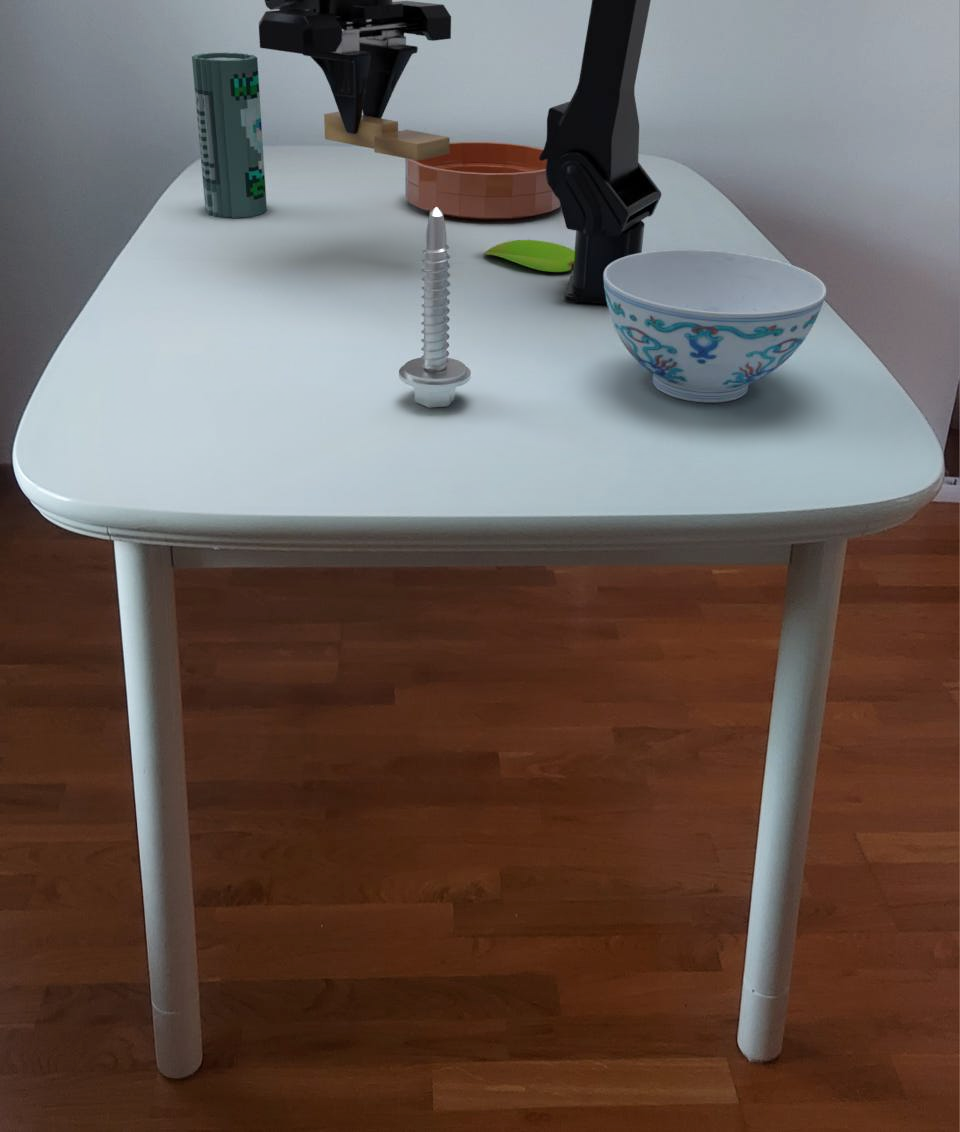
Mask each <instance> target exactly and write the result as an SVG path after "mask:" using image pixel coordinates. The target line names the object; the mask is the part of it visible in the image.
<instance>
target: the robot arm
mask: <svg viewBox="0 0 960 1132" xmlns="http://www.w3.org/2000/svg"><path fill="white" fill-rule="evenodd" d="M651 2H652V0H591V5H590V6H591V7H590V11H589V16H588V23H587V29H586V35H585V41H584V47H583V54H582V60H581V66H580V70H579V71H580V72H579V78H578V83H577V86H576V89H575V91H574V93H573V95H572V97H571V99H570V101H566V102H563V103H561V104H557V105H555V106H552V107H549V108H548V111H547V117H546V140H545V144H544V148H543V149H544V150H543V152H542V153H541V155H540V157H539V159H540V160H541V161H543V160H545V159H547V162H546V180H547V184H548V186H550V187H551V189H552V191H553V192H554V194H555V196H556V197H557V198H558V199H559V201H560V205H561V207H560V208H561V212H562V216H563V220H564V223H565V228H566V229H567V230H570V231H575V241H574V251H575V254H574V265H573V267H572V268H573V270H572V275H570V276H569V280H568V283H567V286H566V289H565V292H564V301H567V302H574V303H588V304H602V305H607V301H606V296H605V289H604V279H603V275H604V270H605V268H606V267H607V266H608V265H609V264H610V263H612V262H614V261H615V260H618V259H620V258H623V257H626V256H629V255H633V254H638V253H643V244H644V233H645V222H644V221H643V220H644V219H647V218H650V217H652V216H653V215H654V213H655V211H656V208H657V206H658V204H659V203H660V200H661V198H662V191H661V190H660V189H659V187H658V186H657V184H656V183H655V182H654V180H653V179H652V178H651V177H650V176H649V174H648V173H647V171H646V170H645V169H644V167H643V166H642V165H641V164H640V162H639V151H640V149H639V148H640V122H639V115H638V108H637V102H636V96H635V89H636V88H635V86H636V81H637V76H638V69H639V64H640V59H641V54H642V49H643V43H644V38H645V32H646V28H647V22H648V16H649V12H650V6H651ZM264 4H265V6H266V8H267V9H268V10H267V11H264V13H263V15H262V17H261V19H260V20H259V22H258V36H259V39H258V40H259V48H260V49H266V50H271V51H272V50H273V51H279V52H286V53H291V54H292V53H293V54H299V55H303V56H305V57H310V58H311V59H312V60H313V61H314V62H315V63H316V64H317V66H318V67H320V69H321V70H322V72H323V74H324V76H325V78H326V80H327V82H328V85H329V88H330V91H331V93H332V95H333V99H334V102H335V104H336V107H337V110H338V112H339V113H340V116H341V119H342V121H343V124H344V127H345V130H346V132H347V133H351V134H356V133H357V132H358V128H359V124H360V121H361V117H362V115H364V116H370V117H375V118H381V119H383V116H384V113H385V111H386V108H387V106H388V104H389V101H390V99H391V98H392V95H393V92H395V91H394V90H395V88H396V86H397V84H398V82H399V80H400V78H401V77H402V75H403V73H404V71H405V69H406V67H407V65H408V63H409V61H410V59H411V57H412V55H414V54H417V53H418V50H419V48H418V46H416V45H409V44H407V36H405V34H409V35H415V36H420V37H421V36H423V37H425V38H426V40H427V41H431V42H435V41H443V40H451V39H452V16H451V14H450V13H449V10H448V9H447V8H446V6H445V5H444V4H441V3H431V2H422V1H413V0H402V1H401V0H398V1H393V0H264Z"/></svg>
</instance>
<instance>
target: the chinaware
mask: <svg viewBox="0 0 960 1132" xmlns="http://www.w3.org/2000/svg"><path fill="white" fill-rule="evenodd" d="M603 279H604V289H605V296H606V301H607V304H606V305H607V309H608V310H607V311H608V313H609V317H610V320H611V322H612V325H613V327H614V330H615V332H616V334H617V336H618V338H619V340H620V341H621V343H622V344H623V345H624V348H625V349H626V350H627V351H628V353H629V354H630V355H631V356H632V357H633V358H634V359H635V361H636V362H638V363H639V364H640V365H641V366H642V367H643V368H644V369H645V370H647V371H648V372H649V373H650V374H652V383H653V385H654V387H655V388H656V389H658V390H659V391H660V392H662V393H664V394H665V395H667V396H669V397H673V398H676V399H680V400H684V401H688V402H694V403H695V402H696V403H706V404H707V403H709V404H710V403H711V404H712V403H714V404H715V403H724V402H725V403H726V402H731V401H734V400H737V399H740V398H742V397H743V396H745V395H746V394H747V393H748V389H749V385H750V384H751V383H754V382H756V381H758V380H760V379H763V378H764V377H766V376H767V375H769V374H771V373H772V372H774V371H775V370H777V369H778V368H779V367H780V366H782V365H783V364H784V363H785V362H786V361H787V360H789V359H790V357H792V356H793V355H794V354H795V352H797V350H798V349H799V348H800V347H801V345H802V344H803V342H804V341H805V340H806V338H807V337H808V335H809V333H811V330H812V329H813V327H814V325H815V324H816V321H817V318H818V317H819V315H820V312H821V309H822V307H823V305H824V302H825V299H826V296H827V287H826V285H825V283H824V282H823V281H822V280H821V279H820V278H819V277H817V276H816V275H815V274H813V273H811V272H809V271H808V270H806V269H803V268H802V267H798V266H795V265H793V264H790V263H787V262H784V261H780V260H777V259H772V258H769V257H765V256H760V255H754V254H747V253H742V252H733V251H727V250H725V251H724V250H715V249H714V250H713V249H688V248H686V249H683V248H682V249H661V250H653V251H650V250H649V251H644V252H643V251H642V253H638V254H633V255H629V256H626V257H623V258H620V259H618V260H615V261H614V262H612V263H610V264H609V265H608V266H607V267H606V268H605V270H604V275H603Z"/></svg>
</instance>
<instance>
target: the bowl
mask: <svg viewBox="0 0 960 1132" xmlns="http://www.w3.org/2000/svg"><path fill="white" fill-rule="evenodd" d="M543 150H544V148H541V147H537V146H533V145H526V144H517V143H511V142H495V141H494V142H493V141H454V142H450V144H449V154H445V155H440V156H436V157H431V158H427V159H422V160H418V161H417V160H412V159H407V158H404V159H405V160H404V162H405V163H404V165H405V167H404V168H405V174H404V175H405V185H404V186H405V189H404V191H405V198H406V200H407V202H408V203H409V204H411V205H413V206H415V207H417V208H419V209H421V210H426V211H429V212H430V211H431V210H433V209H434V208H436V207H437V208H439V209H440V210H442V212H443V216H447V217H451V218H458V219H467V220H477V221H479V220H480V221H505V220H516V219H517V220H518V219H525V218H530V217H534V216H538V215H542V214H546V213H551V212H552V211H554V210H557V209H559V208H561V205H560V201H559V199H558V198H557V197H556V196H555V194H554V192H553V191H552V189H551V187H550V186H548V184H547V180H546V162H547V159H545V160H543V161H541V160H540V159H539V157H540V155H541V153H542V152H543Z"/></svg>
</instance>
